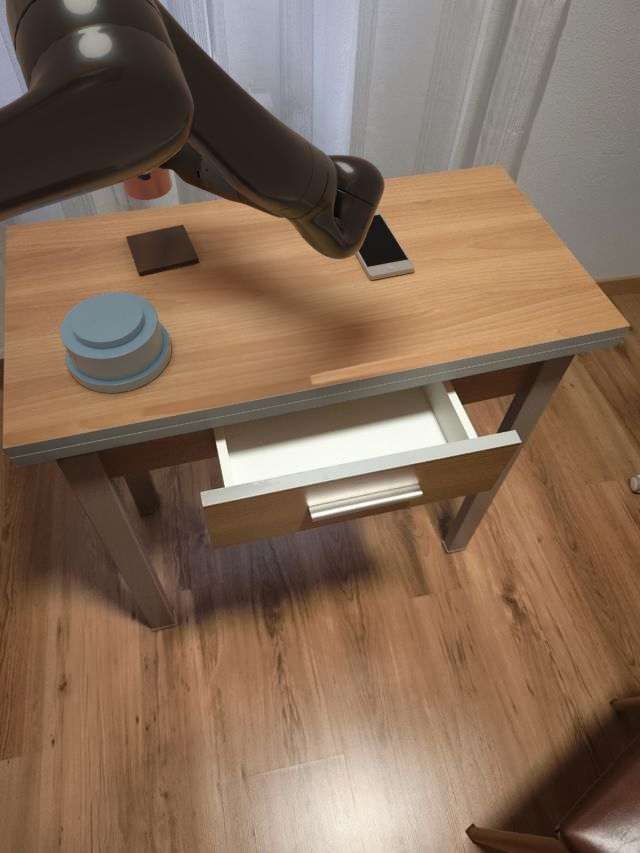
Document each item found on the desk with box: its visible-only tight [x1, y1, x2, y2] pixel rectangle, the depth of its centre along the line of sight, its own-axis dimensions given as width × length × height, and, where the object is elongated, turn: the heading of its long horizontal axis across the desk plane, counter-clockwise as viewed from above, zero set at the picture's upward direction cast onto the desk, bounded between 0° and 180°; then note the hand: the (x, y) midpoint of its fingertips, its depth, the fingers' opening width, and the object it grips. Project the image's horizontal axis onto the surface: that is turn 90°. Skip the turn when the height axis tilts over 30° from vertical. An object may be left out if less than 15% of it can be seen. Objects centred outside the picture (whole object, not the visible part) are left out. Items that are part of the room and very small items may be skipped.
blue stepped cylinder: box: [59, 291, 172, 394], centre depth 71 cm, size 13×13×7 cm
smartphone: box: [355, 208, 415, 281], centre depth 88 cm, size 7×15×1 cm, turn 18°
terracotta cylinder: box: [121, 167, 173, 201], centre depth 74 cm, size 6×6×10 cm
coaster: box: [125, 224, 200, 277], centre depth 86 cm, size 9×9×1 cm
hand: (120, 122), depth 72 cm, fingers closed on terracotta cylinder, 6 cm apart
